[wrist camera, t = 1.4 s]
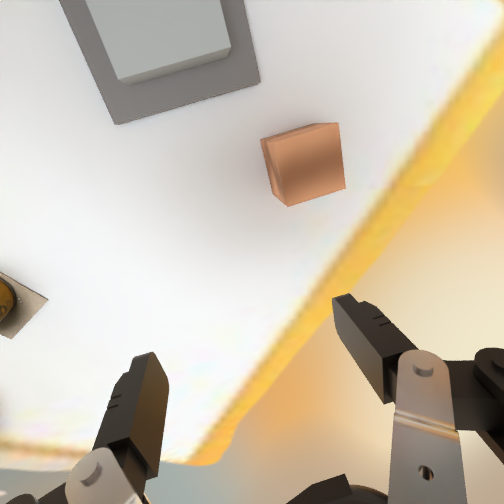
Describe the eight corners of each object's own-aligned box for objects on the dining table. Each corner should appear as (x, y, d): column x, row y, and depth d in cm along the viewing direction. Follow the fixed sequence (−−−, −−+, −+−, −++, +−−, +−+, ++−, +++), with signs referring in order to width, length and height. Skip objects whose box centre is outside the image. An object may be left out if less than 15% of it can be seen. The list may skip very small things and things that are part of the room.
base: (29, -79, 20) (-20, -138, 16) (211, -125, 21) (214, -196, 16) (118, 124, 26) (102, 123, 22) (257, 83, 27) (269, 74, 22)
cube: (259, 139, 29) (273, 142, 24) (312, 123, 29) (338, 122, 24) (272, 193, 32) (287, 207, 26) (321, 178, 32) (345, 188, 27)
